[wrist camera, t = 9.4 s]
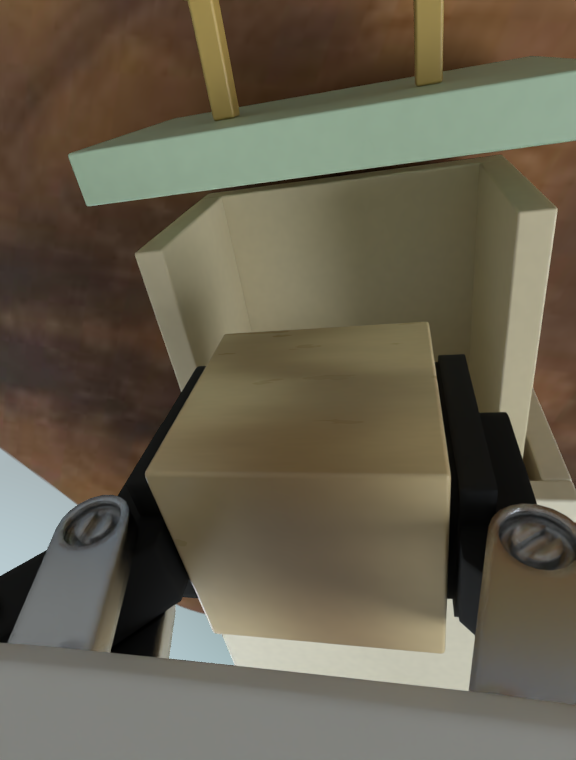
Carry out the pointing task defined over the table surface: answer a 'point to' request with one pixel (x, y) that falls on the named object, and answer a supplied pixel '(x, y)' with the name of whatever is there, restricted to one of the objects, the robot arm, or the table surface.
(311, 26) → the table surface
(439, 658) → the cabinet
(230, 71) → the drawer
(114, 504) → the robot arm
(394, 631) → the block
